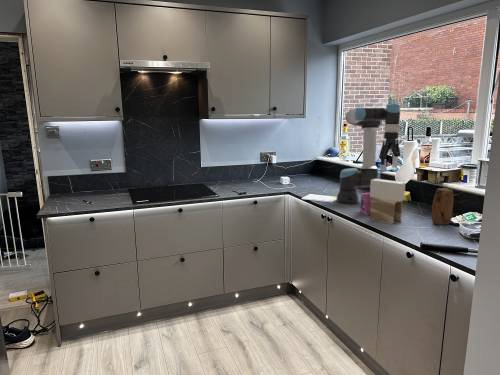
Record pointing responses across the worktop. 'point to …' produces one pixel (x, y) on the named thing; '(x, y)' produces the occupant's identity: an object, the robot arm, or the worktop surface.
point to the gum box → (365, 202)
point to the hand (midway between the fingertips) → (388, 169)
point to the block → (442, 206)
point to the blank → (387, 189)
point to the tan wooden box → (385, 210)
